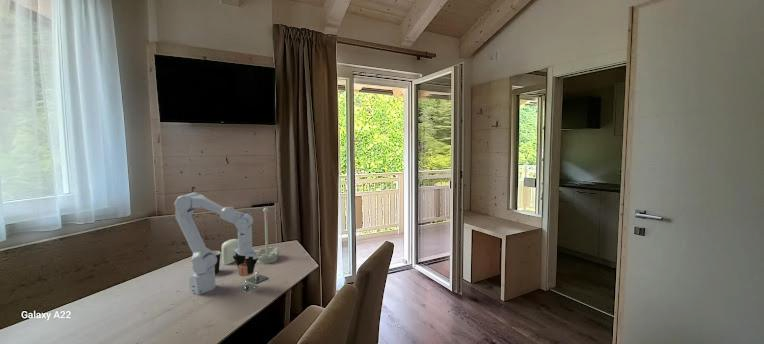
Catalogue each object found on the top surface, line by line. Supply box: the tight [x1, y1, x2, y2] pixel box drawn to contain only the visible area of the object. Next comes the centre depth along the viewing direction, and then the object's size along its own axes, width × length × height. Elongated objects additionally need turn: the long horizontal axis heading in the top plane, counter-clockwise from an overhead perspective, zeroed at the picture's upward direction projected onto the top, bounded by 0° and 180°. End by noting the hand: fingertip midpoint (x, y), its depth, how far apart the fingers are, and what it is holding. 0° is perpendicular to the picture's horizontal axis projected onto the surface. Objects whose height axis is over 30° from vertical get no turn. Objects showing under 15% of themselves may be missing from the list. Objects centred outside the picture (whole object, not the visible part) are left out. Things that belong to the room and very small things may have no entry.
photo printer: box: [220, 238, 238, 266], centre depth 173 cm, size 10×4×12 cm, turn 160°
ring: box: [237, 262, 255, 277], centre depth 139 cm, size 6×6×4 cm
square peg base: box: [246, 271, 269, 285], centre depth 148 cm, size 7×7×4 cm
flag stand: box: [254, 207, 280, 264], centre depth 175 cm, size 13×13×30 cm
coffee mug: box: [211, 250, 222, 275], centre depth 158 cm, size 12×9×10 cm
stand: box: [235, 279, 259, 294], centre depth 140 cm, size 7×7×4 cm
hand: (246, 271), depth 139 cm, fingers closed on ring, 6 cm apart
